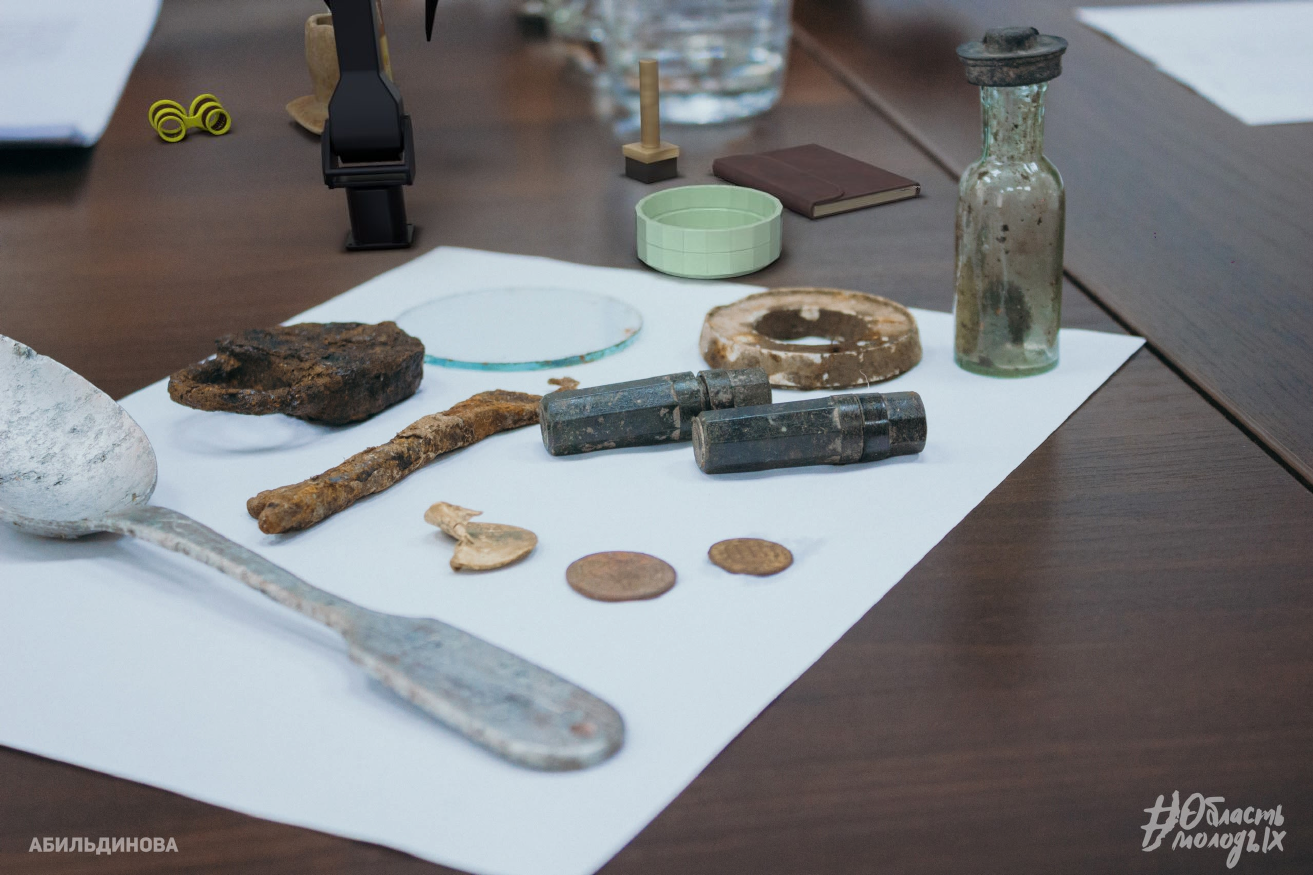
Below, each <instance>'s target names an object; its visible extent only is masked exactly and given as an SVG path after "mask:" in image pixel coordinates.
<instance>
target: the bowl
mask: <svg viewBox="0 0 1313 875" xmlns="http://www.w3.org/2000/svg"><path fill="white" fill-rule="evenodd" d="M634 218H635V219H634V220H635V221H634V222H635V249H636V254H637V257H638V259H640V260H641V261H642V262H644V263H645V264H646V265H648V266H649V267H651V268H652V269H654V270H655V271H658V272H661V273H663V274H667V275H669V276H675V277H680V278H687V279H698V280H699V279H702V280H715V279H716V280H717V279H728V278H736V277H741V276H745V275H749V274H753V273H755V272H758V271H760V270H763V269H764V268H766V267H768V266H769V265H770V264H772V263H773V262H774V261H775V260H777V259H779V257H780V255H781V252H782V250H783V224H784V223H783V222H784V220H783V219H784V206H783V205H782V204H781V202H780V201H779V199H777V198H775V197H774V196H772V195H770V194H768V193H765V192H762V191H758V190H755V189H751V188H745V187H741V186H739V185H730V184H729V185H728V184H698V185H697V184H696V185H685V186H679V187H672V188H666V189H663V190H659V191H657V192H653V193H650V194H649V195H646V196H645V197H643V198H641V199H640V200H639V201H638V202H637V203H636V205H635V206H634Z"/></svg>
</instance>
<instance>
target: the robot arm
mask: <svg viewBox="0 0 1313 875" xmlns="http://www.w3.org/2000/svg"><path fill="white" fill-rule="evenodd" d="M322 1H323V2H324V4H325V5H326V7H327V6H328V8H329V9H330V11H331V15H332V22H333V29H334V37H335V44H336V51H337V58H338V66H339V73H340V79H339V81H338V83H337V86H336V88H335V90H334V92H333V95H332V97H331V99H330V102H329V104H328V114H329V118H326V119H325V126H324V130H323V131H322V132H321V135H320V152H321V154H320V155H321V170H322V177H323V183H324V185H325V186H327V189H328V190H335V189H345V195H346V196H345V197H346V203H347V208H348V209H347V210H348V217H349V224H350V231H349V235H348V237H347V240H346V243H345V250H346V251H362V250H378V249H396V248H397V249H399V248H409V247H411V245H412V240H413V237H414V232H415V229H416V228H415V223H413V222H408V218H407V210H406V203H405V195H404V187H403V186H407V187H409V186H410V187H411V186H413V185H414V182H415V179H416V175H417V167H416V156H415V154H416V153H415V144H414V143H415V142H414V131H413V123H412V122H413V121H412V118H411V114H410V113H407V114H406V113H405V106H404V98H403V95H402V92H401V90H400V88H399V87H398V85H397V83H395V82H394V81H393V80H392V81H393V82H392V81H391V80H390V78H389V77H388V76H387V74H386V73H385V72H384V70H383V63H382V55H381V47H380V38H379V30H378V22H377V14H376V5H375V0H322ZM439 1H440V0H424V9H425V10H424V30H425V37H426V38H425V39H426V42H427V43H430V42H431V40H432V36H433V31H434V30H433V29H434V24H435V20H436V14H437V9H438V5H439ZM339 159H340V161H339ZM403 159H404V160H403ZM402 161H403V162H404V163H395V162H402ZM340 162H341V164H343V165H346V166H340ZM373 163H374V164H373ZM375 163H392V164H375ZM350 164H353V165H350ZM354 164H369V165H354ZM347 165H348V166H347ZM349 165H350V166H349Z"/></svg>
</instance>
